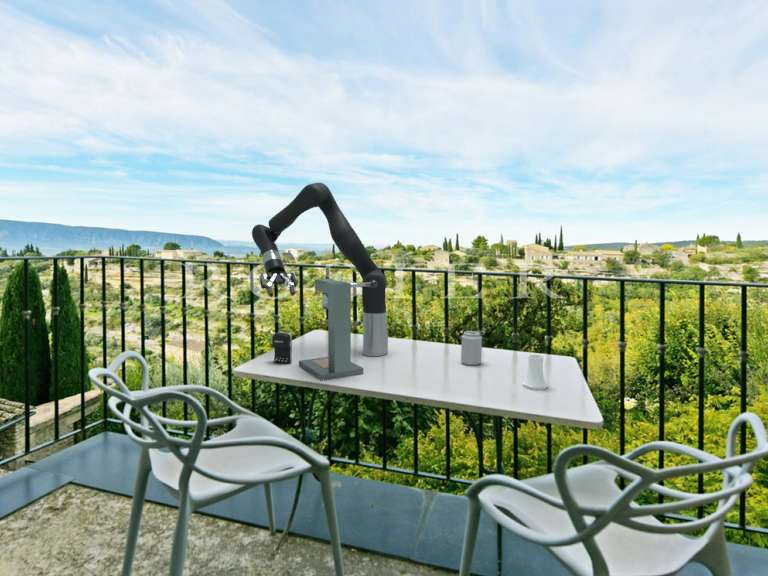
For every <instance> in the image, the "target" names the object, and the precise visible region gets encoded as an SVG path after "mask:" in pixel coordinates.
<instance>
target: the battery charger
mask: <svg viewBox="0 0 768 576" xmlns="http://www.w3.org/2000/svg"><path fill="white" fill-rule="evenodd" d="M292 337H293V336H292V335H291V333H289V332H284V331H283V332H282V331H278V332H275V333H273V335H272V337H271V338H272V340H271V347H272V348H273V349H274V358H273V362H274V363H275V364H284V365H285V364H286V365H287V364H291V363H292V362H293V360H292V359H293V358H292V356H293V338H292Z"/></svg>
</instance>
